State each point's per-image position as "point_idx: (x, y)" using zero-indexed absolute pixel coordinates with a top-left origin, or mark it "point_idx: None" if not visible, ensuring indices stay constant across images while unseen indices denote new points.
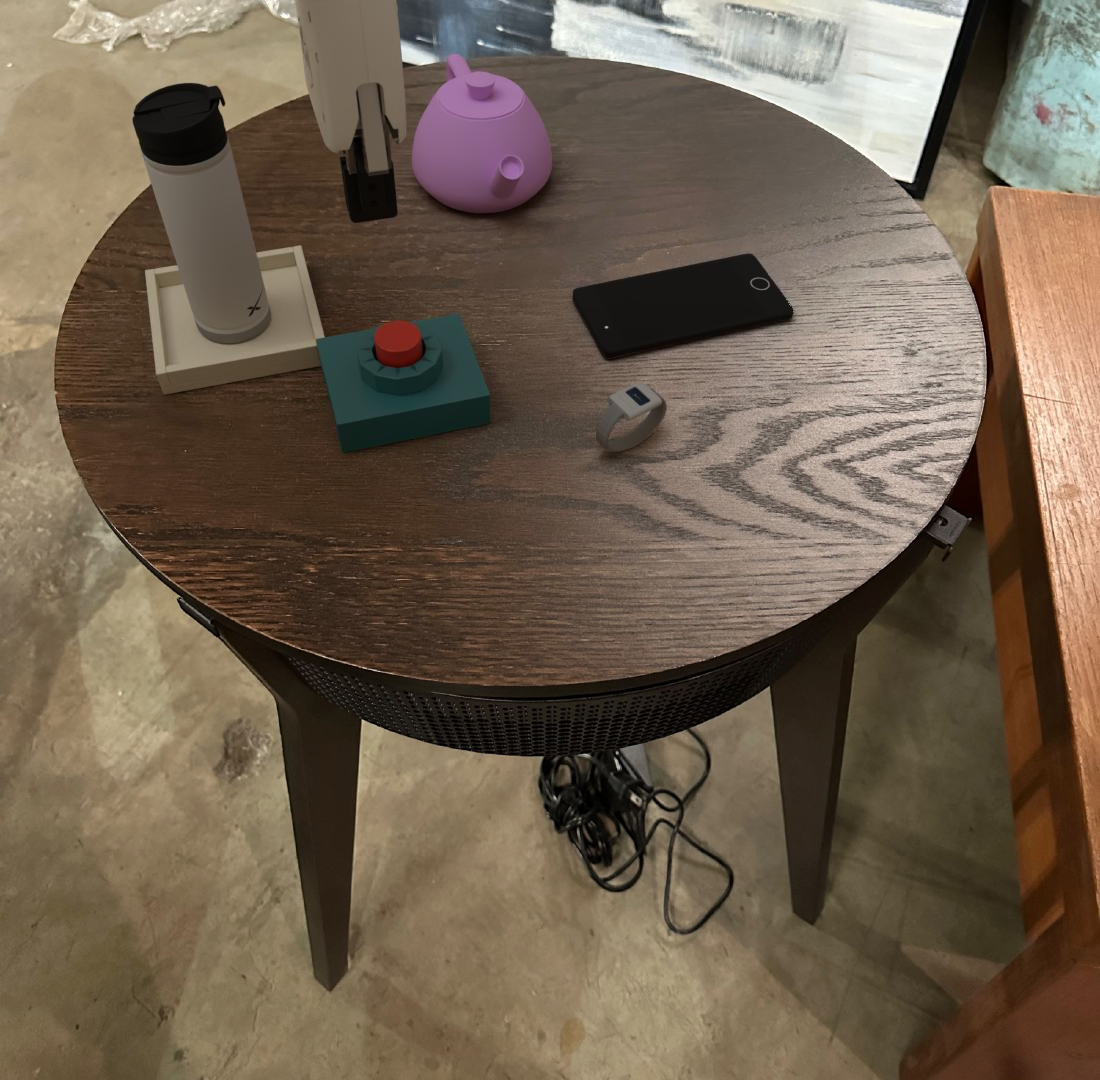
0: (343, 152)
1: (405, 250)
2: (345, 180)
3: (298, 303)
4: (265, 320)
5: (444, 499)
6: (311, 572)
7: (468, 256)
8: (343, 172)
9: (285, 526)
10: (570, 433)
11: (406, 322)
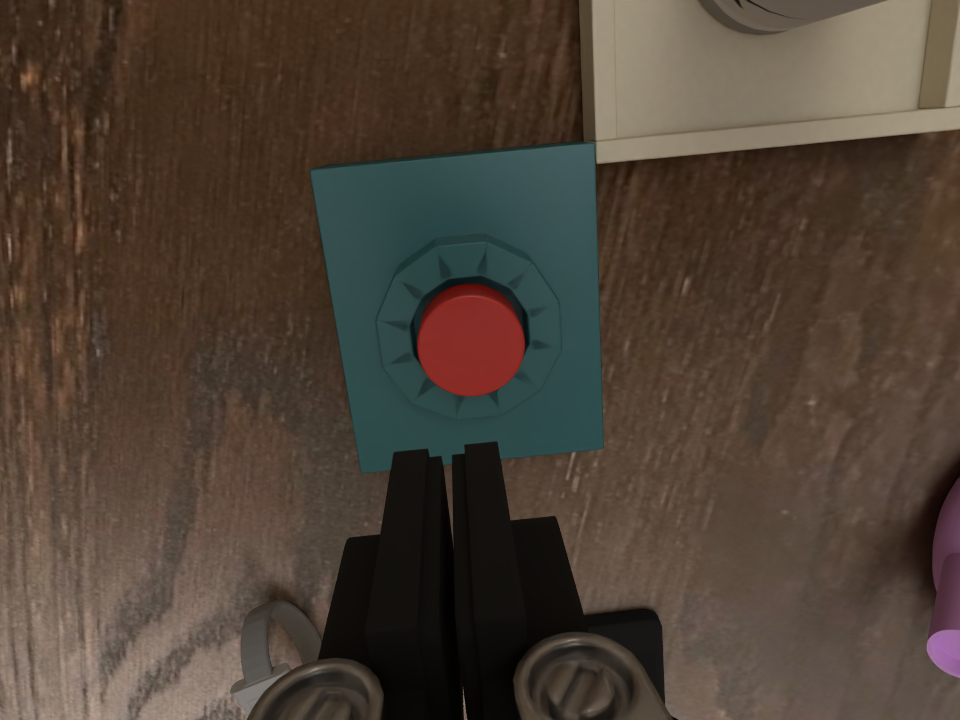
0: (516, 669)
1: (889, 348)
2: (373, 583)
3: (782, 105)
4: (728, 19)
5: (195, 339)
6: (19, 76)
7: (826, 460)
8: (411, 598)
9: (137, 30)
10: (331, 552)
11: (512, 371)
